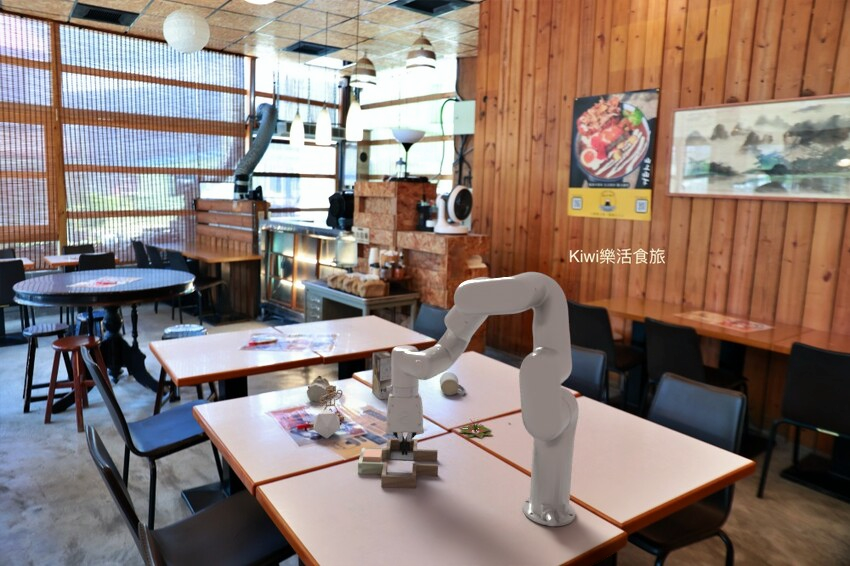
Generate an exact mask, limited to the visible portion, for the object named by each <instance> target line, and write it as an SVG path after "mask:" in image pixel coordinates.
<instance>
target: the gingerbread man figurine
mask: <svg viewBox="0 0 850 566" xmlns="http://www.w3.org/2000/svg"><path fill="white" fill-rule="evenodd" d="M330 386H332V387H334V386H335V385H332V384H330V385H329V386H327V387H326V389H325V393H326V391H330V390H331V391H333V390H335V391H333V392H332V393H329V392H327V393H328V394H327V393H326V394H327V395H325V396H322V397H321V398H320V400H321V399H322V398H323V397H325V398H327V399H329V404H328V400H327V399H324V400H323V401H320V400H319V402H318V406H320V407H323V406H324V405H325V407H324V409H323V410H322V411H324V410H325V409H327V408H328V407H329V409H328V410H330V411H332V412H333V411H334V410H332V408H331V407H334V408H335V409H336V411H335V412H334V413H335V414H336V415H337V416H338V417H339V420H340V421H345V416H344V415H343V414H342V413H340V412H339V410H338V408H337V407H336V401H338V400H340V399H341V397H343V390H342V389H337V387H336V388H335V387H334V388H335V389H328V390H327V388H328V387H330ZM339 391H340V392H339ZM337 395H339V396H338V397H336V398H334V396H337ZM332 399H333V403H332Z"/></svg>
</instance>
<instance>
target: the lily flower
mask: <svg viewBox="0 0 850 566" xmlns="http://www.w3.org/2000/svg"><path fill="white" fill-rule="evenodd" d="M469 419H470V421H471V423H470V424H469V425H467V426H461V427H462V428H468V429H462V428H460V431H459V433H458V434H460V433H461V434H462V433H465V436H466V439H468V438H472V437H478V438H480V439H481V440H482V439H483V437H484V436H494V435H493V434H491V432H490V431H491V428H488V427H486V426H485V425H483V424H482V423H481V422H482V421H483V419H482V420H480V421H478V420H477V421H475V420H476V419H474V421H473V420H472V419H471V418H469ZM478 428H479V429H478ZM472 430H473V431H474V432H473V431H472ZM476 430H477V431H476ZM471 434H472V435H471Z"/></svg>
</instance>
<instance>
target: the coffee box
mask: <svg viewBox="0 0 850 566" xmlns="http://www.w3.org/2000/svg"><path fill="white" fill-rule="evenodd" d="M371 376H372V377H371V378H372V380H371V381H372V383H371V384H372V386H371V387H372V389H371V390H372V391H371V392H372V394H374V395H375V397H377V398H378V399H379V400H386V399H388V398H389V395H390V394H391V393H390V391H386V386H391V385H392V353H390V352H389V351H384V350H383V351H376V352H372V375H371Z"/></svg>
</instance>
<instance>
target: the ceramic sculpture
mask: <svg viewBox="0 0 850 566" xmlns="http://www.w3.org/2000/svg"><path fill="white" fill-rule="evenodd" d="M329 385H331V384H330V383H329V380H328V379H327V378H326V377H323V376H321V375H318V376H317V377H316V378H314V379H313V380H312V382H311V383H310V385H308V386H307V390H306V395H307V398H308V399H309V400H310V401H313V402H316V403H317V402H318V403H319V400H320V398H321V397H322V396H325V395H327V394H328V393H327V392H329V393H332V392H333V391H334V392H335V390H333V391H331V390H330V391H326V393H327V394H326V393H325V389H326V387H327V386H329ZM333 386H334V387H335V388H336V389H337V386H336V385H333ZM334 387H332V386H330V387H328V388H327V390H328V389H335V388H334ZM328 395H329V394H328ZM325 400H326V397H323V398H322V399H321V400H320V401H322V402H324V401H325Z"/></svg>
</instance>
